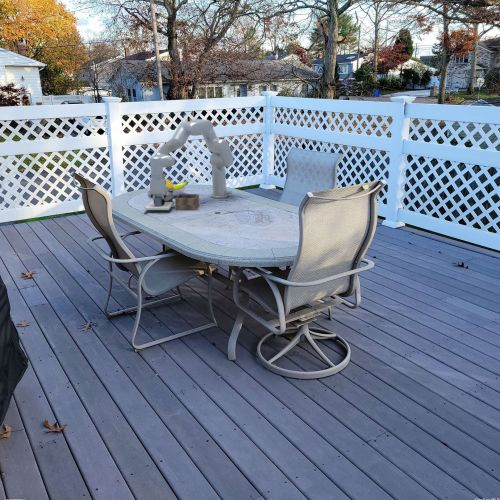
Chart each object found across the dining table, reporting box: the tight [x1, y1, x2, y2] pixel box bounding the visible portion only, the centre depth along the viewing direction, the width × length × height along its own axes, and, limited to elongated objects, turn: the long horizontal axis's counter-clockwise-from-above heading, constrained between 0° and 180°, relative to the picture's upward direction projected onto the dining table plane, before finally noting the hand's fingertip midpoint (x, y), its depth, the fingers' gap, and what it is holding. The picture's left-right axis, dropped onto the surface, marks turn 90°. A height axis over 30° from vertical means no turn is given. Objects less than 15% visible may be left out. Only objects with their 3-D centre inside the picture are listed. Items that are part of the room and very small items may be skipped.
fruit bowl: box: [147, 178, 189, 198], centre depth 347 cm, size 28×27×11 cm
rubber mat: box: [143, 206, 175, 215], centre depth 309 cm, size 16×16×1 cm
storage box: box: [174, 193, 200, 211], centre depth 313 cm, size 13×13×8 cm
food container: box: [156, 188, 174, 203], centre depth 327 cm, size 12×6×10 cm, turn 84°
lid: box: [144, 196, 174, 211], centre depth 307 cm, size 15×15×6 cm
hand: (159, 204), depth 307 cm, fingers closed on lid, 4 cm apart
